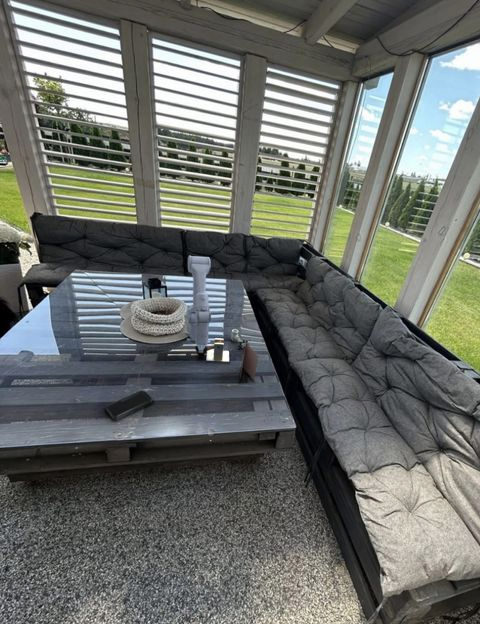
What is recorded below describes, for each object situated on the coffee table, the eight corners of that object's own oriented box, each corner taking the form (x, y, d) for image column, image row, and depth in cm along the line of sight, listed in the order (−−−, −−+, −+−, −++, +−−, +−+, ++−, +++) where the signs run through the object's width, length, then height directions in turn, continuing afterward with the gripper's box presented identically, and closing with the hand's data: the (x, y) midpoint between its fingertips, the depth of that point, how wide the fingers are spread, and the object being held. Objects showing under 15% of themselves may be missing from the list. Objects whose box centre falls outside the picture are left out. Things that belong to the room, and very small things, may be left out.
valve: (227, 340, 159) (237, 351, 152) (228, 329, 156) (238, 341, 148) (237, 337, 163) (248, 349, 155) (238, 328, 159) (249, 339, 151)
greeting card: (240, 367, 141) (244, 342, 133) (255, 369, 142) (259, 344, 133) (237, 382, 132) (241, 356, 123) (253, 384, 132) (258, 358, 124)
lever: (201, 356, 141) (198, 352, 140) (201, 353, 144) (198, 348, 142) (223, 347, 140) (219, 342, 138) (223, 343, 142) (220, 338, 141)
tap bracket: (206, 362, 140) (207, 345, 135) (207, 351, 147) (208, 335, 142) (228, 363, 142) (230, 347, 137) (228, 352, 149) (230, 337, 144)
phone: (153, 400, 113) (114, 418, 102) (153, 402, 113) (114, 421, 103) (142, 389, 116) (104, 406, 106) (143, 391, 117) (104, 408, 107)
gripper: (210, 342, 130) (208, 365, 138) (211, 326, 142) (210, 348, 150) (194, 340, 129) (193, 364, 136) (196, 324, 141) (196, 347, 148)
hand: (201, 356), depth 143 cm, fingers closed on lever, 3 cm apart
